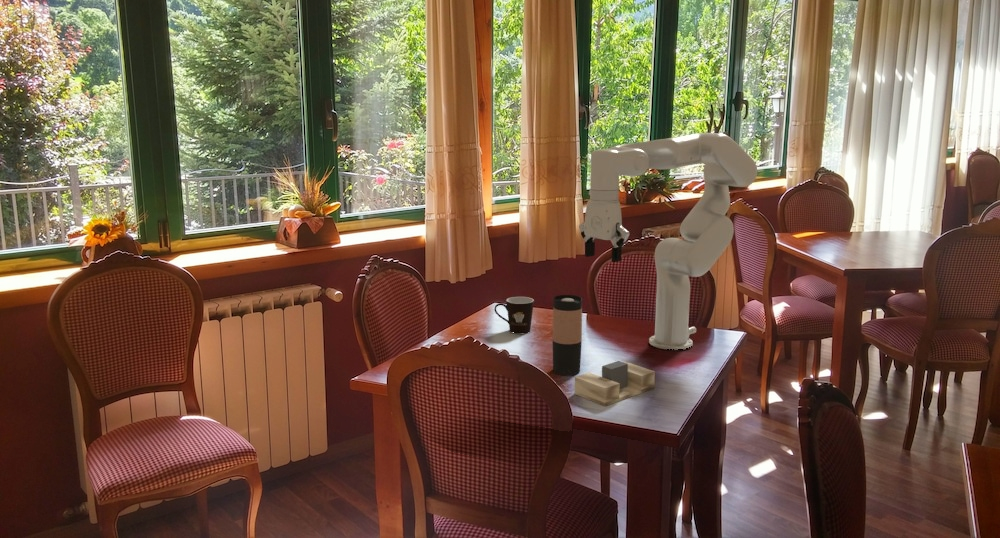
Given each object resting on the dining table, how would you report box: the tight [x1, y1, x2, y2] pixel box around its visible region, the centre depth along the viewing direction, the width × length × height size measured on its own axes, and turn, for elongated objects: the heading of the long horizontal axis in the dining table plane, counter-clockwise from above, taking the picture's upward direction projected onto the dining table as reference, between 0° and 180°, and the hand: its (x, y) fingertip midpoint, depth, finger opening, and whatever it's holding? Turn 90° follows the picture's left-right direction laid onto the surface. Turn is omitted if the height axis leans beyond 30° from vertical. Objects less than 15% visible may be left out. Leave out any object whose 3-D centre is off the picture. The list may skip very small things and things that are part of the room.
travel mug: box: [552, 294, 583, 377], centre depth 199 cm, size 8×8×20 cm
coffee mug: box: [493, 296, 535, 334], centre depth 237 cm, size 12×9×10 cm
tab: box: [601, 360, 628, 390], centre depth 186 cm, size 6×3×6 cm, turn 130°
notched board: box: [574, 361, 656, 407], centre depth 186 cm, size 18×10×4 cm, turn 129°
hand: (602, 258), depth 206 cm, fingers open, 9 cm apart
